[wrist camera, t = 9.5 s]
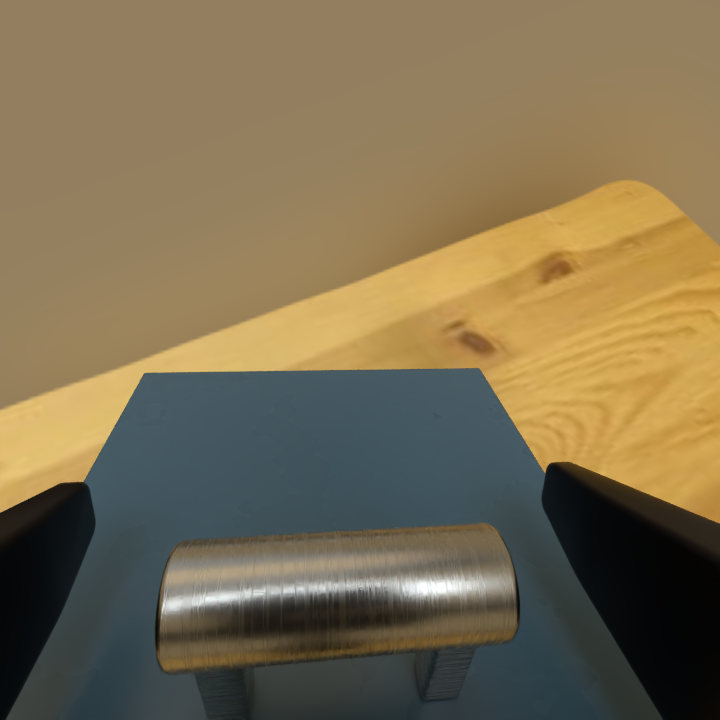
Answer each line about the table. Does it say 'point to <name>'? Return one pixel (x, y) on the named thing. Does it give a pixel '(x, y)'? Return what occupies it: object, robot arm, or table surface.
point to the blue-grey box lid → (325, 562)
